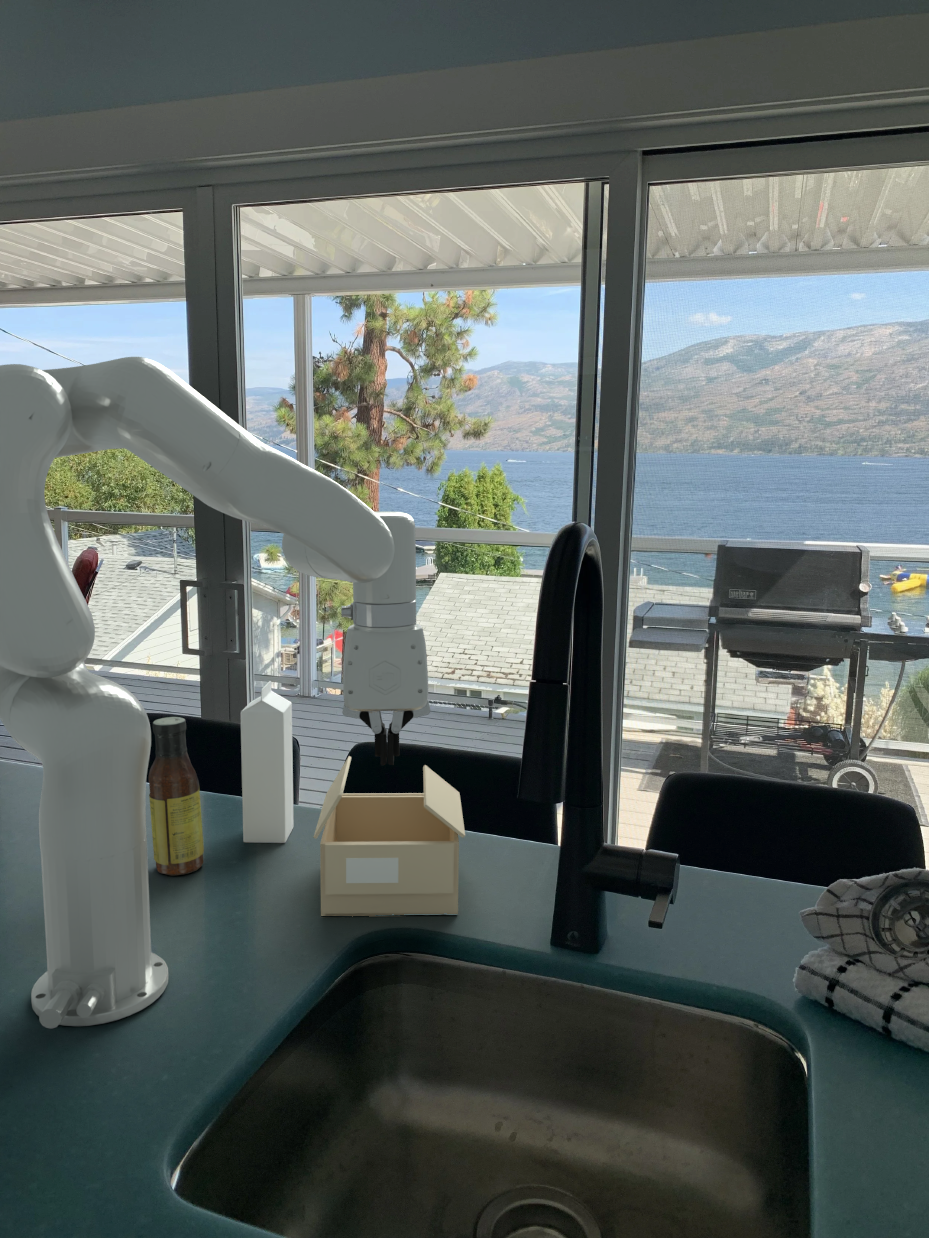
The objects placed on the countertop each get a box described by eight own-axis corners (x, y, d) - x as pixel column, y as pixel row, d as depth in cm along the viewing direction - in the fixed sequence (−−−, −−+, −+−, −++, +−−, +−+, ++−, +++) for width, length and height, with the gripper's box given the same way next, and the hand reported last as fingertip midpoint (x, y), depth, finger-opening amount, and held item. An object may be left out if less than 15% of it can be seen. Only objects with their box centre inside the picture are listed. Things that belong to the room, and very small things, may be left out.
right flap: (463, 838, 106) (465, 835, 106) (423, 806, 105) (426, 804, 105) (457, 794, 120) (459, 792, 120) (423, 766, 120) (425, 764, 120)
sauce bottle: (211, 859, 121) (207, 714, 118) (193, 879, 115) (188, 727, 112) (164, 856, 122) (159, 712, 119) (143, 876, 116) (137, 725, 113)
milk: (243, 843, 127) (238, 689, 123) (253, 826, 133) (248, 679, 129) (286, 843, 127) (282, 689, 123) (294, 827, 133) (291, 680, 129)
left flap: (328, 795, 119) (326, 793, 119) (351, 757, 119) (348, 755, 119) (316, 839, 105) (313, 837, 105) (342, 795, 104) (339, 794, 104)
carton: (458, 918, 106) (459, 844, 104) (320, 920, 105) (319, 845, 104) (452, 857, 123) (453, 793, 122) (333, 858, 122) (333, 793, 121)
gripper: (319, 620, 105) (323, 772, 108) (448, 619, 106) (448, 770, 109) (325, 610, 112) (329, 753, 115) (446, 609, 113) (446, 751, 116)
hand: (387, 761), depth 112 cm, fingers closed
